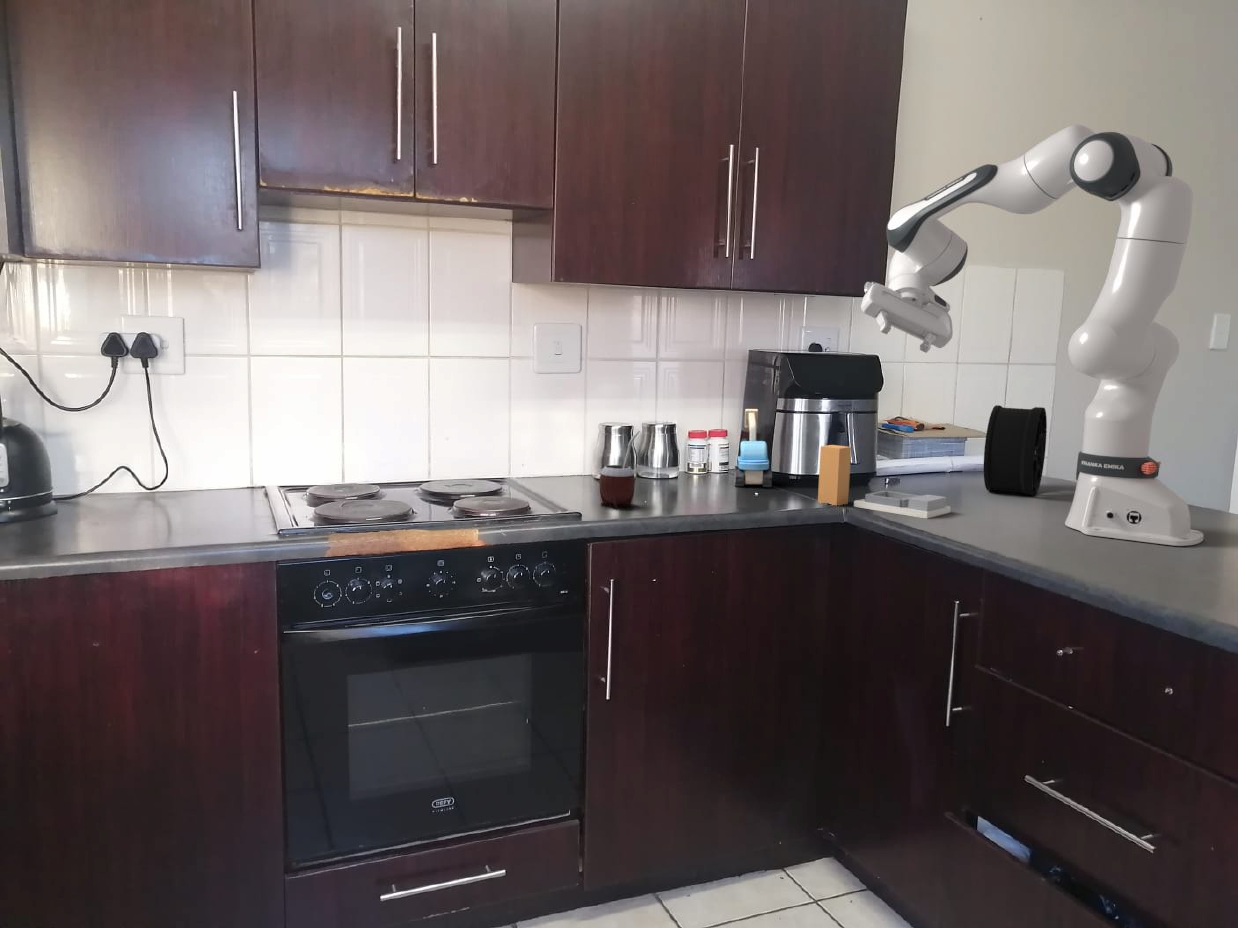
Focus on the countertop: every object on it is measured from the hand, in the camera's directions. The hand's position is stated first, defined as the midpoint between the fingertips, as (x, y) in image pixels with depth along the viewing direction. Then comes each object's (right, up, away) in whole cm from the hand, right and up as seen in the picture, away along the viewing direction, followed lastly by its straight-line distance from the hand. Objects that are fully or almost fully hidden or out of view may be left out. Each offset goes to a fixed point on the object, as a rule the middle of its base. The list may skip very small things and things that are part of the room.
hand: (905, 340), depth 192 cm
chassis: (-2, -35, -3) cm, 35 cm away
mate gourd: (-60, -34, -6) cm, 69 cm away
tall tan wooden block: (-14, -34, +3) cm, 37 cm away
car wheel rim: (+32, -32, +22) cm, 50 cm away
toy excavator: (-28, -30, +27) cm, 50 cm away
